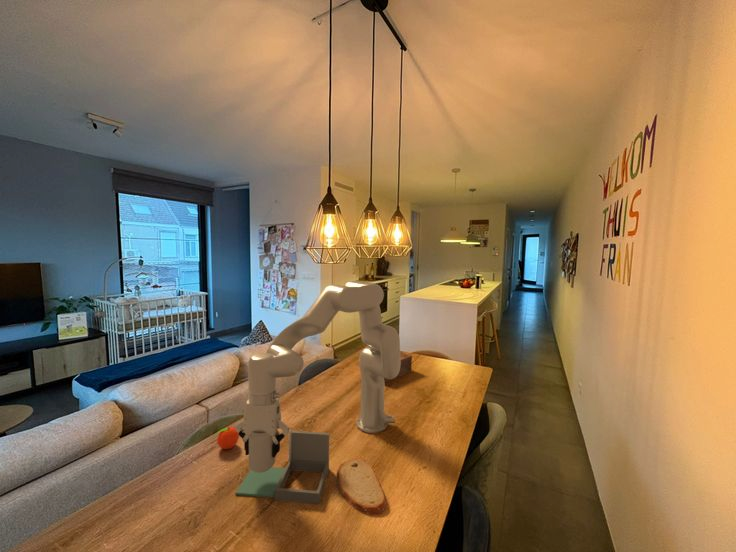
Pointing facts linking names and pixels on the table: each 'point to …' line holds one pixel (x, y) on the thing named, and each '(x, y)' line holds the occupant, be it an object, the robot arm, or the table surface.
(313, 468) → the grey open box
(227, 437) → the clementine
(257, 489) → the mat
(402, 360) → the tissue box cover
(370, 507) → the slice of bread
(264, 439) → the can
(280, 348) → the robot arm
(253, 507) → the table surface
